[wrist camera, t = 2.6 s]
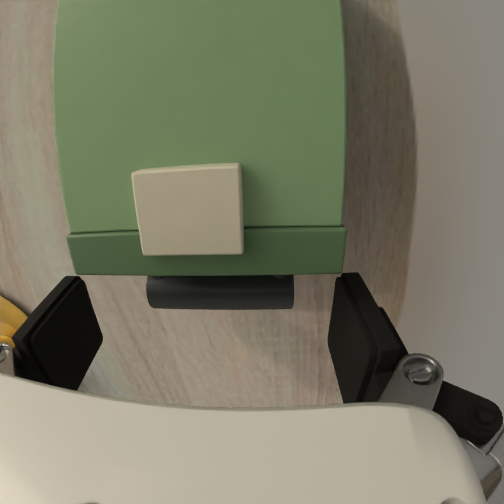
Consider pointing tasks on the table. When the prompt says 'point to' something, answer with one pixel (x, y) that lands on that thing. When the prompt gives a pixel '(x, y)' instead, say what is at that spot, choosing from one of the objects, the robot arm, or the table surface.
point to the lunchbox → (203, 145)
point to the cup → (9, 320)
